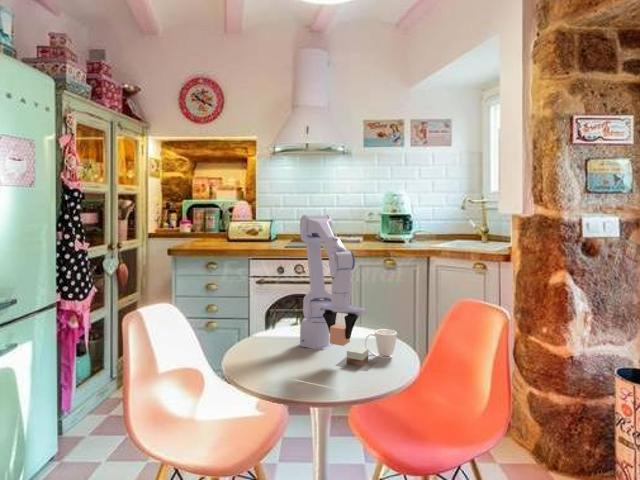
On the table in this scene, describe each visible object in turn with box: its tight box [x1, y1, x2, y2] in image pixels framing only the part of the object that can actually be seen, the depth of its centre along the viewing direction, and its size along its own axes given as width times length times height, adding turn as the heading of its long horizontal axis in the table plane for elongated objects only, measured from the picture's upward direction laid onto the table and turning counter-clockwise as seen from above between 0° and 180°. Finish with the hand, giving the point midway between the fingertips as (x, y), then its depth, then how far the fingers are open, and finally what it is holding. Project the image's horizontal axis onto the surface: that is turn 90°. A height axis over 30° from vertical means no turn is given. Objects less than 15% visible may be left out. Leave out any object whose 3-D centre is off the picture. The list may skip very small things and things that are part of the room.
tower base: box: [346, 355, 369, 367], centre depth 143 cm, size 5×5×2 cm
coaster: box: [335, 356, 379, 372], centre depth 143 cm, size 10×10×1 cm
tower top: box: [346, 346, 369, 360], centre depth 143 cm, size 5×5×2 cm
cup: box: [364, 328, 398, 359], centre depth 150 cm, size 7×10×8 cm
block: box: [329, 323, 351, 347], centre depth 141 cm, size 4×4×5 cm
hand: (340, 336), depth 141 cm, fingers closed on block, 4 cm apart
